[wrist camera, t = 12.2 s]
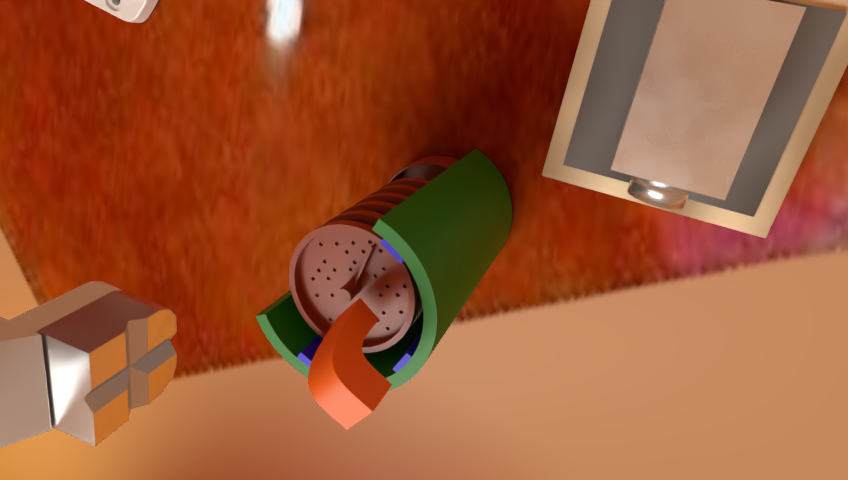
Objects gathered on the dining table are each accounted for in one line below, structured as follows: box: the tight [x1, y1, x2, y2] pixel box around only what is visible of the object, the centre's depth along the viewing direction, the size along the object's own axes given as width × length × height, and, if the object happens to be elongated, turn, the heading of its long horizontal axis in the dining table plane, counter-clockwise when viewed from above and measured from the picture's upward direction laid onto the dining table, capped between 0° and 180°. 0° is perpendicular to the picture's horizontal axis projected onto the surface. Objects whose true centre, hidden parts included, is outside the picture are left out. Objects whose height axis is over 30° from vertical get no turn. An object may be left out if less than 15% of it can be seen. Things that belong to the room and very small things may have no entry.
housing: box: [611, 0, 806, 209], centre depth 27 cm, size 9×5×5 cm, turn 169°
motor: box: [256, 148, 512, 429], centre depth 33 cm, size 10×9×20 cm
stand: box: [542, 0, 848, 238], centre depth 32 cm, size 12×12×5 cm
